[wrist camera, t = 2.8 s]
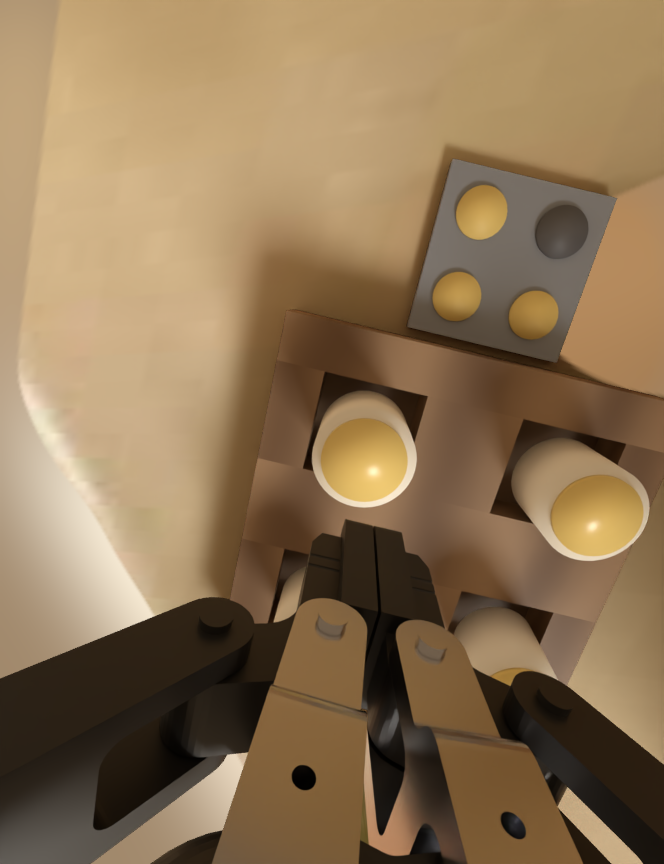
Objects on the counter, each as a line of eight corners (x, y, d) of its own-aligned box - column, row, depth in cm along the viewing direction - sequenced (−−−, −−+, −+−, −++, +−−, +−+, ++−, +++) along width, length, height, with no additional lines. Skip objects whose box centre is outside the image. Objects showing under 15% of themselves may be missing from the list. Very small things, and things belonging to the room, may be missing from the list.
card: (610, 200, 22) (619, 197, 22) (552, 361, 25) (558, 363, 24) (450, 162, 22) (454, 157, 22) (406, 326, 25) (407, 327, 24)
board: (657, 396, 25) (695, 408, 22) (529, 687, 30) (547, 727, 28) (295, 309, 25) (286, 310, 22) (233, 617, 30) (219, 650, 27)
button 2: (615, 449, 23) (672, 482, 19) (581, 528, 24) (628, 574, 20) (528, 428, 23) (566, 456, 19) (499, 508, 24) (528, 551, 20)
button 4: (544, 617, 26) (579, 677, 21) (517, 679, 27) (545, 748, 23) (466, 598, 25) (487, 655, 21) (443, 662, 27) (458, 728, 23)
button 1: (417, 402, 23) (430, 424, 19) (394, 483, 24) (401, 520, 20) (330, 381, 23) (324, 398, 19) (311, 463, 24) (301, 497, 20)
